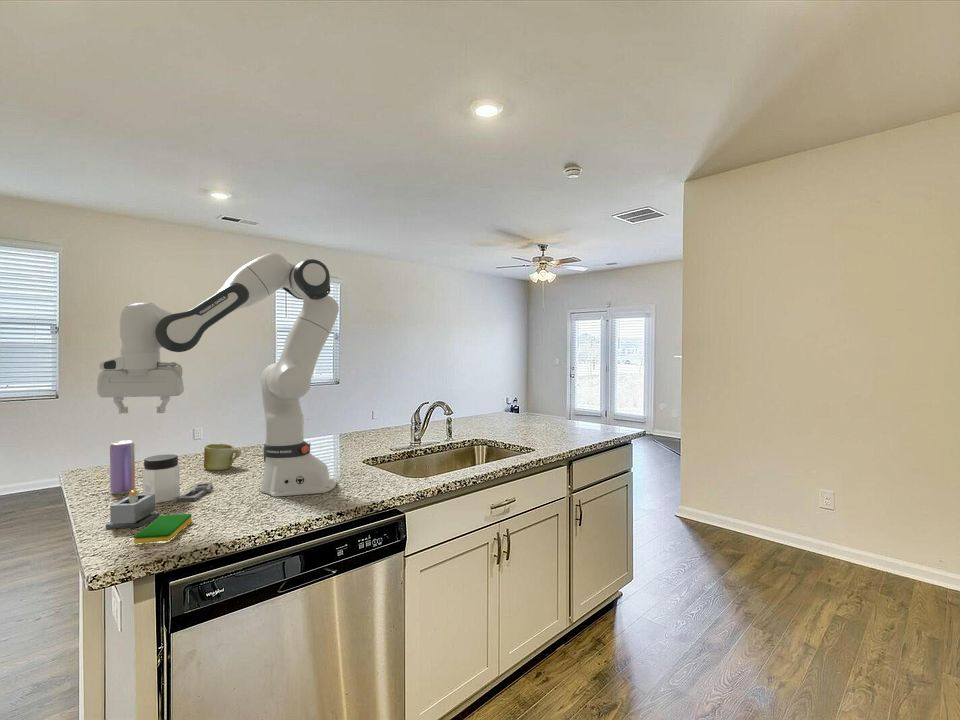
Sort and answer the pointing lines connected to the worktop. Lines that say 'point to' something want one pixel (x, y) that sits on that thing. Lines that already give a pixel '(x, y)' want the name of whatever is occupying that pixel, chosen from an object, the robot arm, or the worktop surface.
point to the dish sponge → (163, 528)
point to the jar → (161, 477)
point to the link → (132, 509)
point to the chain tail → (196, 492)
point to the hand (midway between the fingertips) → (142, 413)
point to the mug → (219, 456)
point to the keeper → (133, 498)
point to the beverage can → (122, 467)
